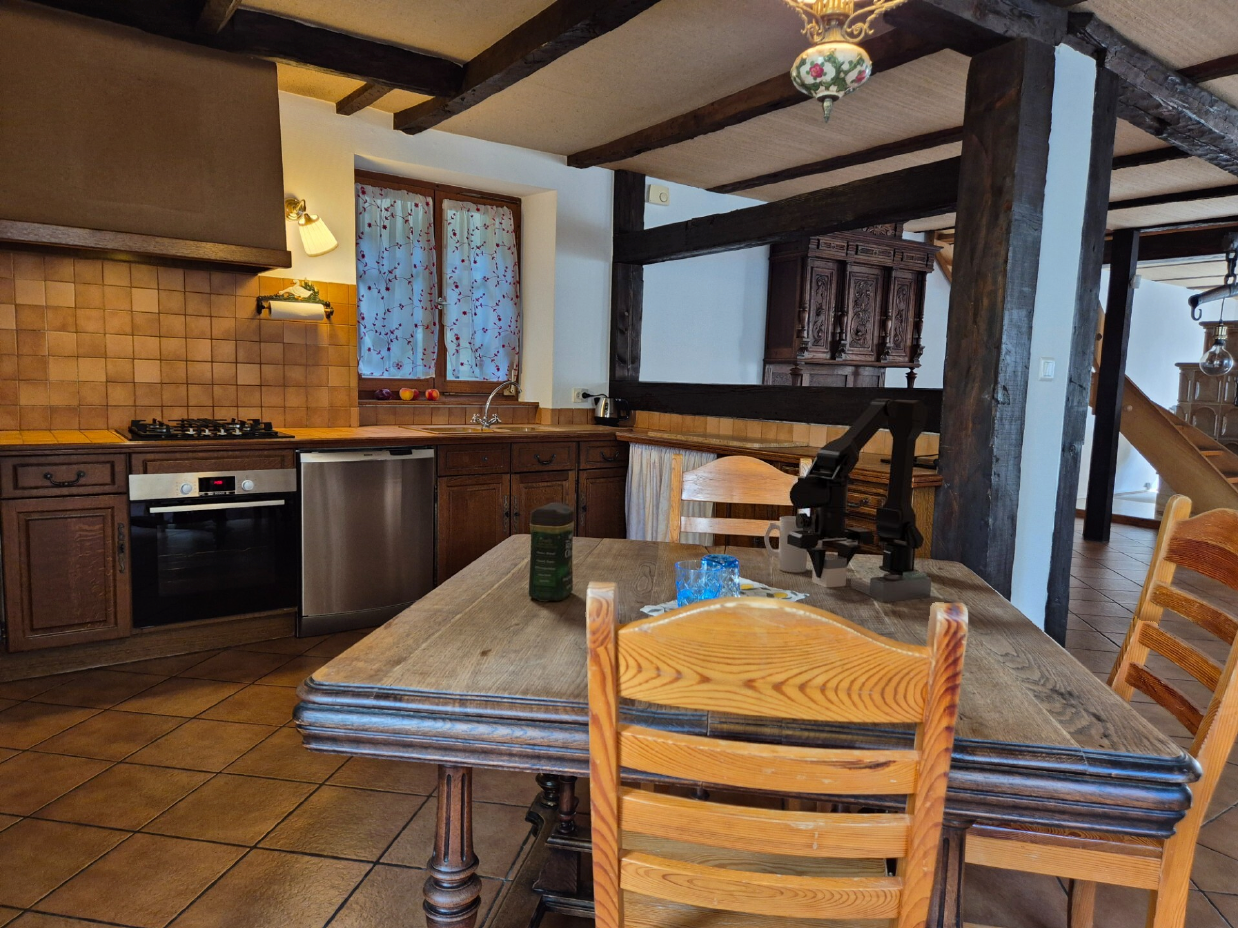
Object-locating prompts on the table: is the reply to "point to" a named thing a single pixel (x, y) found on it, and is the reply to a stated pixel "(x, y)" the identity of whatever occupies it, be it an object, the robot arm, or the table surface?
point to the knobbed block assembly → (895, 586)
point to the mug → (787, 546)
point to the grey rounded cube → (832, 572)
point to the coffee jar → (551, 552)
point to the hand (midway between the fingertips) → (829, 576)
